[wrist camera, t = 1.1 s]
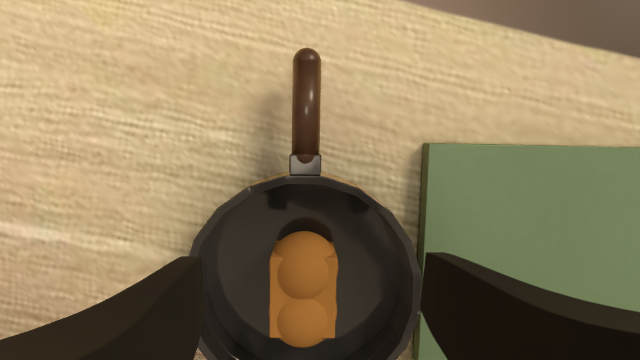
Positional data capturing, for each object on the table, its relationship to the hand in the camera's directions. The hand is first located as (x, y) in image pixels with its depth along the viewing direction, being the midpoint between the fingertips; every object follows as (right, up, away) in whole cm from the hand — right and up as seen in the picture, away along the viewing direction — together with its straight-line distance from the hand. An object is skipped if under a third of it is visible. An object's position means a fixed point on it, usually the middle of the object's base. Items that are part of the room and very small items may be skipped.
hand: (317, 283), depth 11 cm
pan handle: (-1, +7, +10) cm, 13 cm away
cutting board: (+17, -2, +13) cm, 21 cm away
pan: (-1, -3, +13) cm, 13 cm away
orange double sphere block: (-1, -3, +13) cm, 13 cm away
